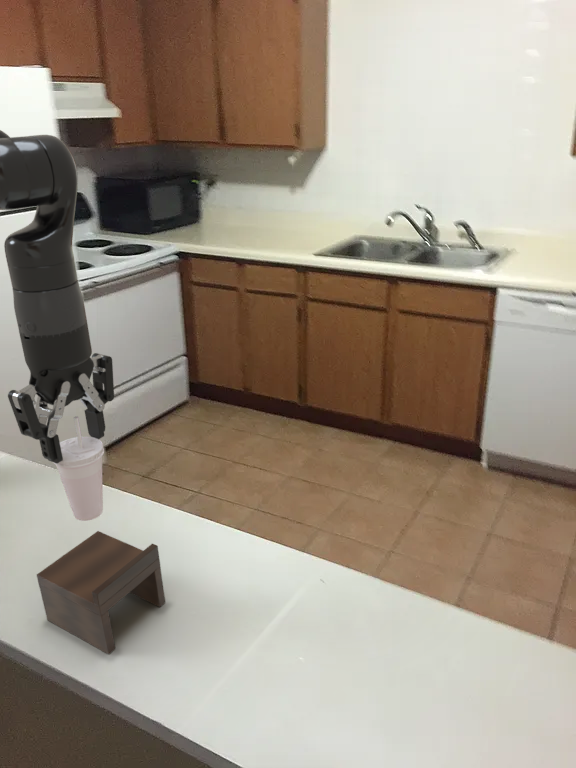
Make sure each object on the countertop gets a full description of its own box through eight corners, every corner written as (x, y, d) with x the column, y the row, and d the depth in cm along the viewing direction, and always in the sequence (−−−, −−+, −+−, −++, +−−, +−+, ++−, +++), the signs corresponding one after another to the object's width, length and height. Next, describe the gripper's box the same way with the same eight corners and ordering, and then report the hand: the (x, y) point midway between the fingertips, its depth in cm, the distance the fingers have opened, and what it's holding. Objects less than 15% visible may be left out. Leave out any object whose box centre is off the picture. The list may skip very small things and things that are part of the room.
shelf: (47, 620, 93) (33, 562, 88) (105, 573, 101) (95, 519, 97) (108, 654, 87) (97, 594, 83) (165, 602, 95) (157, 545, 91)
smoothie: (100, 529, 84) (84, 430, 78) (53, 524, 85) (34, 427, 79) (121, 500, 90) (107, 407, 84) (76, 496, 91) (59, 404, 85)
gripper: (78, 300, 84) (98, 418, 91) (-24, 335, 73) (8, 467, 80) (121, 308, 80) (138, 431, 87) (21, 347, 69) (50, 484, 76)
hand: (76, 448), depth 84 cm, fingers closed on smoothie, 6 cm apart
